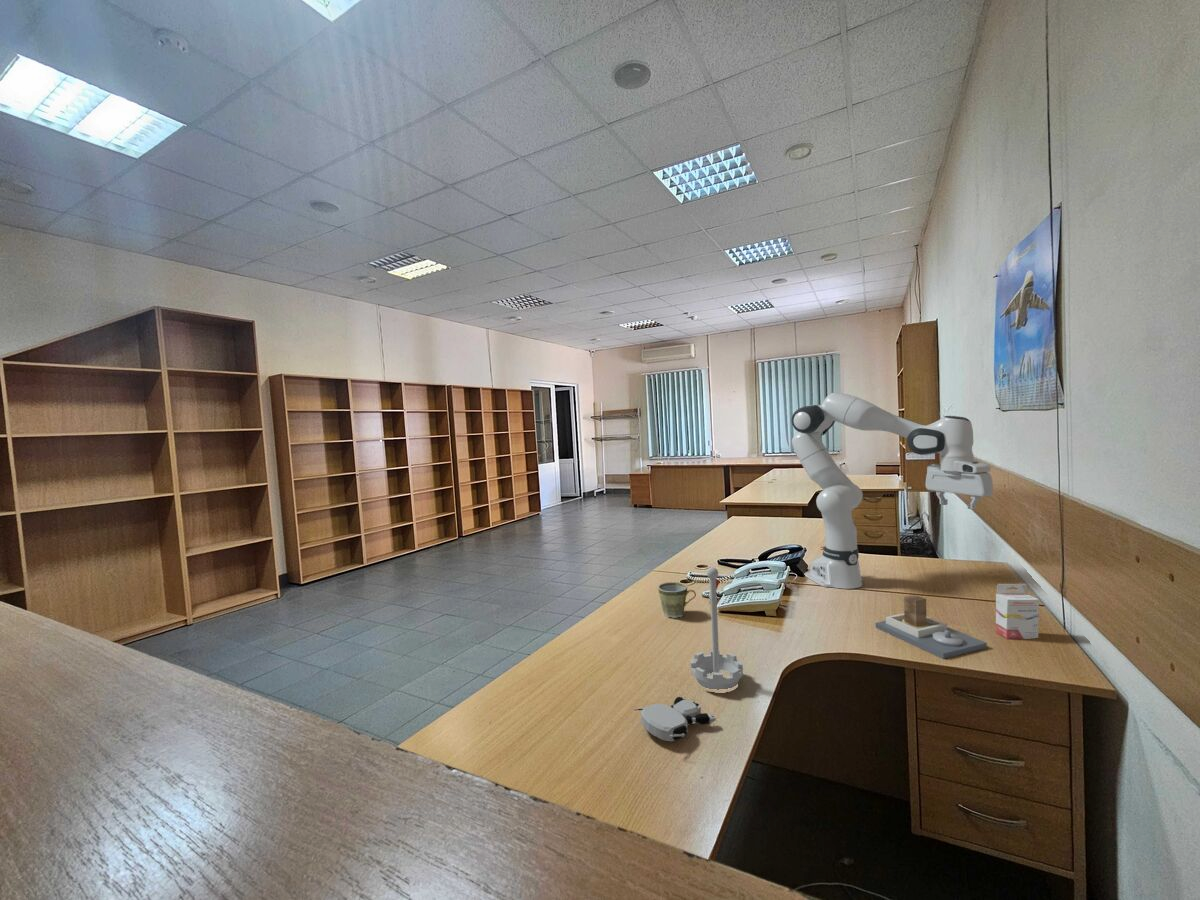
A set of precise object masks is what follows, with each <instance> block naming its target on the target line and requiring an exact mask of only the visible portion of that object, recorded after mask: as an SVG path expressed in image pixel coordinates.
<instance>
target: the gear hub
mask: <svg viewBox="0 0 1200 900" xmlns="http://www.w3.org/2000/svg"><path fill="white" fill-rule="evenodd" d="M903 605H904V606H903V611H904V612H903V613H904V619H903V620H902V622H903V623H905V624H907V625H910V626H912V627H914V628H917V629H920V628H924V627H928V626H929V624H928V623H927V617H928V616H927V598H925V597H922V596H919V595H917V594H912V595H911V594H910V595H905V596H903ZM926 616H927V617H926Z"/></svg>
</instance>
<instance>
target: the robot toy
mask: <svg viewBox="0 0 1200 900" xmlns="http://www.w3.org/2000/svg"><path fill="white" fill-rule="evenodd" d="M633 711H641V713H640V718H641V719H640V722H641V725H642V727H643V728H644V729H646V731H647V732H648V733H649V734H650V735H652V736H654V737H656V738H657V739H660V740H661V741H666V742H675V741H678V740H680V739H682V738H685V737H686V736H687V733H688V727H689V725H688V724H692V723H693V722H696V723H697V724H700V725H709V724H710V722H712V723H713V722H715V721H716V717H715V715H713V714H708V713H706V712H705V713H704V712H703V713H702V706H701V704H698V703H696V701H694V700H689V699H688V700H687V698H686V697H683V696H682V695H681V696H680V695H679V696H676V698H675V699H674V701H673V704H672V705H671V706H670V705H667V704H664V703H657V702H656V703H654V704H650V705H648V706H645V707H642V708H641V707H640V708H633Z"/></svg>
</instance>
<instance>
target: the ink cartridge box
mask: <svg viewBox="0 0 1200 900" xmlns="http://www.w3.org/2000/svg"><path fill="white" fill-rule="evenodd" d="M1010 588H1016V589H1010ZM1027 588H1028V584H1026V583H998V584H997V586H996V594H995V633H996V634H998V635H1000V636H1001V637H1003V638H1004V639H1006V640H1032V639H1031V638H1038V639H1039V623H1040V621H1039V617H1040V615H1039V614H1040V612H1039V610H1040V602H1039V601H1040V599H1039V598H1037V597H1035V596H1032V595H1030V594H1028V593H1027Z"/></svg>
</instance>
